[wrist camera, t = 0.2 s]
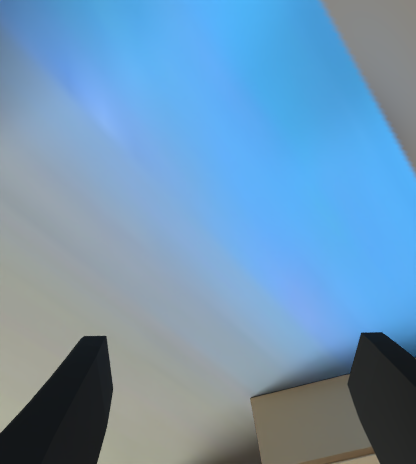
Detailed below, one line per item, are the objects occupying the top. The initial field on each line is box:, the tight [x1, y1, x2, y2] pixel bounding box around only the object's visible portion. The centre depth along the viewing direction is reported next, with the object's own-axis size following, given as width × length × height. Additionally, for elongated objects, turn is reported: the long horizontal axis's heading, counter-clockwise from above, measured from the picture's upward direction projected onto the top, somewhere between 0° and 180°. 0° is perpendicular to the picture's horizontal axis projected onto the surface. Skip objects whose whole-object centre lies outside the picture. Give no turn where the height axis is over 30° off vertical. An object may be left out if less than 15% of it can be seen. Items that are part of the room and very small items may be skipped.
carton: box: [250, 358, 416, 464], centre depth 25 cm, size 12×12×5 cm
